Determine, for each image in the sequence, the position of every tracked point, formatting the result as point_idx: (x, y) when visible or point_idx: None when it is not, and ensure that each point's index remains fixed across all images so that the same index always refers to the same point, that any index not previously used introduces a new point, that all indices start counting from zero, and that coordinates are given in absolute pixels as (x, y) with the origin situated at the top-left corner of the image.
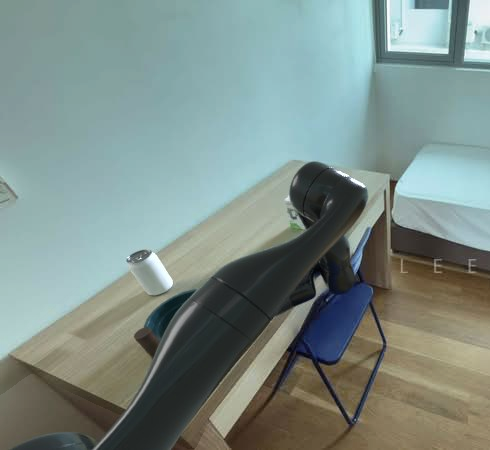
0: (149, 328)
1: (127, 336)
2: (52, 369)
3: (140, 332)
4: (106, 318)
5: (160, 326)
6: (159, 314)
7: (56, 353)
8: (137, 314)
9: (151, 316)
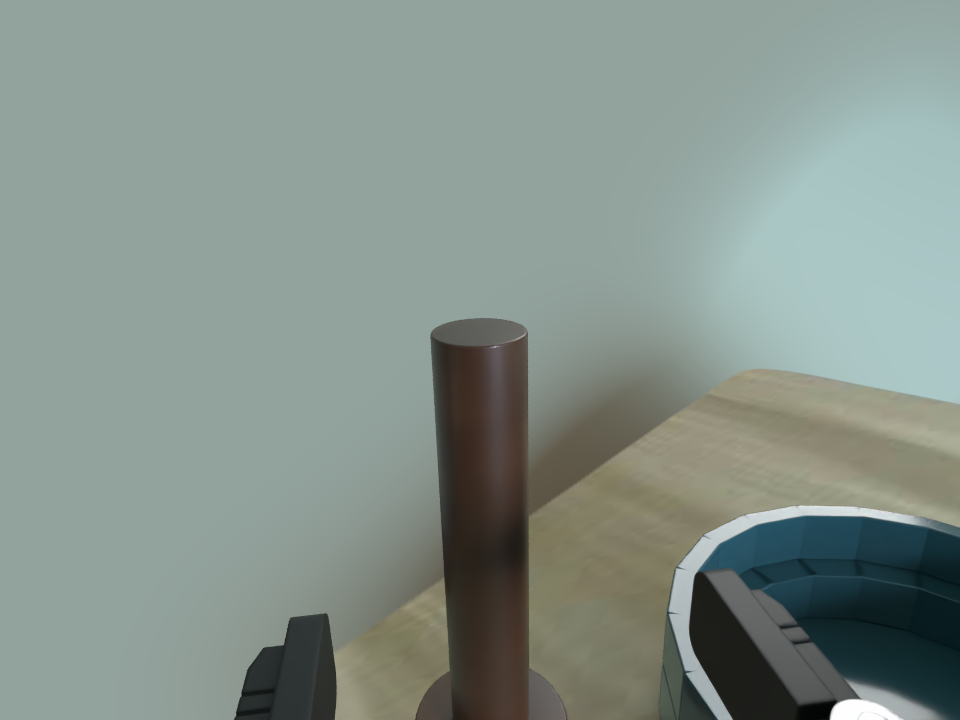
0: (499, 342)
1: None
2: (677, 416)
3: (489, 328)
4: (899, 456)
5: (848, 592)
6: (924, 561)
7: (737, 409)
8: (945, 523)
9: (878, 518)
